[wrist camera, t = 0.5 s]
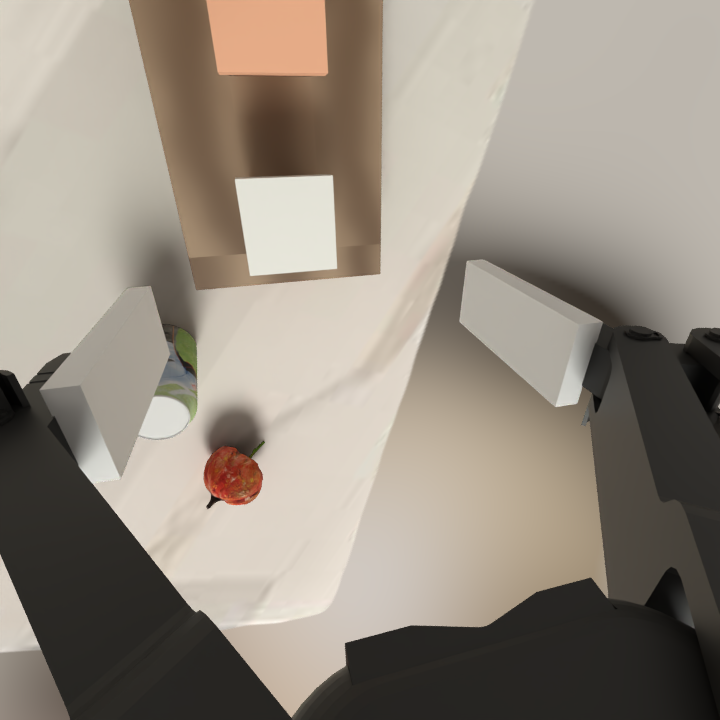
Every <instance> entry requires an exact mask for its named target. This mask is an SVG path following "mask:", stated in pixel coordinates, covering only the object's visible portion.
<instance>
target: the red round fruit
mask: <svg viewBox="0 0 720 720" xmlns="http://www.w3.org/2000/svg"><path fill="white" fill-rule="evenodd" d="M264 443H265V442H264V441H263V442H262V443H261V444H260V445H259V446H258V447H257V448H255V449H254V450H253V452H252V454H251V455H250V456H249V457H248V456H245V455H244V454H241V453H239V452H238V450H237V449H236V448H234V447H228V446H223V447H221V448H219V449H218V450H217V451H215V452H214V453H212V455H211V456H210V458H209V459H208V461H207V463H206V466H205V470H204V483H205V486H206V488H207V489H208V491H209V492H210V493H211V500H210V502H209V504H208V505H207V506H206V507H207V509H209V508H210V507H211V506H212V505H213V504H214V503H216V502H218V501H221V500H222V501H225V502H226V503H227V504H231V505H241V504H248V503H249V502H251V501H253V500H254V499H255V498H256V497H257V496H258V494H259V493H260V490H261V487H262V480H263V476H262V472H261V470H260V469H259V467H258V464H257V463H256V462H255V461H254V460H252V459H251V458H252V456H253V455H254V454H255V453H256V452H257V451H258V449H259V448H260V447H261V446H262V445H263V444H264Z"/></svg>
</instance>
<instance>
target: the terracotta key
mask: <svg viewBox="0 0 720 720" xmlns="http://www.w3.org/2000/svg"><path fill="white" fill-rule="evenodd" d="M206 2H207V8H208V14H209V21H210V27H211V33H212V40H213V46H214V52H215V58H216V65H217V71H218V73H219V75H234V76H326V75H327V74H328V60H327V39H326V17H325V0H206Z"/></svg>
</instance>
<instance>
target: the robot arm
mask: <svg viewBox="0 0 720 720" xmlns="http://www.w3.org/2000/svg"><path fill="white" fill-rule="evenodd" d="M459 322H460V323H461V324H463V325H464V326H465V327H466V328H467V329H468V330H469V331H470V332H471V333H473V334H474V335H475V336H476V337H477V338H478V339H479V340H480V341H482V342H483V343H484V344H485V345H486V346H487V347H488V348H489V349H491V350H492V351H493V352H494V353H495V354H496V355H497V356H499V357H500V358H501V359H502V360H503V361H504V362H505V363H506V364H508V365H509V366H510V367H511V368H512V369H513V370H514V371H515V372H516V373H518V374H519V375H520V376H521V377H522V378H523V379H524V380H525V381H527V382H528V383H529V384H530V385H531V386H532V387H533V388H534V389H536V390H537V391H538V392H539V393H540V394H541V395H543V397H545V398H546V399H547V400H548V401H549V402H550V403H551V404H553V405H554V406H555V407H559V406H565V405H571V404H577V402H578V399H579V396H580V392H581V390H582V386H583V387H585V388H586V389H587V390H589V391H590V392H592V395H591V398H590V401H589V404H588V407H587V410H586V412H585V415H584V419H583V421H582V424H581V425H584V426H585V425H586V423H587V422H588V421H590V427H591V435H592V436H591V437H592V446H593V455H594V464H595V474H596V482H597V492H598V502H599V511H600V520H601V530H602V538H603V548H604V557H605V565H606V566H605V567H606V576H607V585H608V598H606V596H605V595H604V594H603V592H602V591H601V590H600V589H599V588H598V586H597V585H596V583H595V582H594V581H593V579H592V578H588V579H585V580H581V581H577V582H573V583H569V584H565V585H562V586H558V587H554V588H550V589H547V590H543V591H539V592H536V593H535V594H533V595H532V596H530V597H529V598H528V599H526V600H525V601H523V602H522V603H520V604H519V605H517V606H516V607H514V608H513V609H511V610H510V611H509V612H507V613H506V614H504V615H503V616H502V617H500V618H498V619H497V620H496V621H494V622H493V623H491V624H490V625H487V626H485V627H447V626H408V627H404V628H400V629H397V630H393V631H389V632H385V633H382V634H378V635H374V636H370V637H367V638H363V639H359V640H355V641H351V642H348V643H345V651H346V666H345V667H344V668H342V669H341V670H339V671H337V672H336V673H334V674H333V675H332V676H330V677H329V678H328V679H327V680H326V681H324V682H323V683H322V684H321V685H320V686H319V687H317V688H316V689H315V690H314V692H313V693H312V694H311V695H310V696H309V697H308V698H307V699H306V700H305V701H304V702H303V703H302V704H301V706H300V707H299V709H298V710H297V711H296V713H295V714H294V715H293V717H292V718H291V717H290V716H289V715H288V713H287V712H286V711H285V710H284V709H283V707H282V706H281V705H280V704H279V702H278V701H277V700H276V699H275V697H274V696H273V695H272V694H271V692H270V691H269V690H268V689H267V688H266V686H265V685H264V684H263V683H262V682H261V681H260V679H259V678H258V677H257V675H256V674H255V673H254V672H253V670H252V669H251V668H250V667H249V666H248V664H247V663H246V662H245V661H244V660H243V658H242V657H241V656H240V654H239V653H238V652H237V651H236V650H235V648H234V647H233V646H232V645H231V643H230V642H229V641H228V640H227V639H226V637H225V636H224V635H223V634H222V632H221V631H220V630H219V629H218V627H217V626H216V625H215V624H214V623H213V622H212V621H211V620H210V618H209V617H208V616H207V615H206V614H204V613H203V612H202V611H200V610H199V611H198V612H195V611H194V610H192V609H191V607H190V606H189V605H188V604H187V603H186V601H185V600H184V599H183V598H182V596H181V595H180V594H179V593H178V591H177V590H176V589H175V588H174V586H173V585H172V584H171V582H170V581H169V580H168V579H167V577H166V576H165V575H164V574H163V572H162V571H161V570H160V569H159V567H158V566H157V565H156V564H155V562H154V561H153V560H152V558H151V557H150V556H149V555H148V553H147V552H146V551H145V550H144V548H143V547H142V546H141V545H140V543H139V542H138V541H137V540H136V538H135V537H134V536H133V534H132V533H131V532H130V531H129V529H128V528H127V527H126V526H125V524H124V523H123V522H122V521H121V519H120V518H119V517H118V515H117V514H116V513H115V512H114V510H113V509H112V508H111V507H110V505H109V504H108V503H107V502H106V500H105V499H104V498H103V497H102V495H101V494H100V493H99V491H98V490H97V489H96V488H95V486H94V485H93V484H94V483H100V482H106V481H112V480H118V479H121V477H122V475H123V472H124V470H125V467H126V465H127V462H128V459H129V457H130V454H131V452H132V449H133V447H134V444H135V442H136V439H137V437H138V434H139V432H140V429H141V427H142V424H143V421H144V419H145V416H146V414H147V411H148V409H149V406H150V404H151V401H152V399H153V396H154V394H155V391H156V389H157V386H158V383H159V381H160V378H161V376H162V373H163V371H164V368H165V366H166V363H167V361H168V358H169V356H170V352H169V348H168V345H167V341H166V338H165V334H164V331H163V327H162V324H161V320H160V317H159V313H158V310H157V306H156V303H155V299H154V296H153V292H152V289H151V286H144V287H132V288H127V289H126V290H125V291H124V292H123V293H122V295H121V296H120V297H119V298H118V299H117V300H116V302H115V303H114V304H113V305H112V306H111V307H110V309H109V310H108V311H107V312H106V313H105V314H104V316H103V317H102V318H101V319H100V320H99V321H98V322H97V324H96V325H95V326H94V327H93V328H92V329H91V331H90V332H89V333H88V334H87V335H86V336H85V338H84V339H83V340H82V341H81V342H80V343H79V345H78V346H77V347H76V348H75V349H74V350H73V352H72V353H64V354H61V355H60V356H58V357H56V358H55V359H53V360H51V361H50V362H48V363H46V364H45V366H44V367H43V368H42V369H41V370H40V371H39V372H38V373H37V375H36V376H34V377H33V378H32V380H31V381H30V382H29V384H27V385H26V386H25V387H24V388H23V389H22V388H21V386H20V384H19V382H18V381H17V379H16V377H15V375H14V373H12V372H10V371H6V370H0V555H1V557H2V559H3V562H4V564H5V566H6V569H7V571H8V573H9V576H10V578H11V580H12V583H13V585H14V587H15V590H16V592H17V594H18V597H19V599H20V601H21V603H22V606H23V608H24V610H25V613H26V615H27V617H28V620H29V622H30V624H31V627H32V629H33V631H34V634H35V636H36V638H37V641H38V643H39V645H40V648H41V650H42V652H43V655H44V657H45V659H46V662H47V664H48V666H49V669H50V671H51V673H52V676H53V678H54V680H55V683H56V685H57V687H58V690H59V692H60V694H61V697H62V699H63V701H64V704H65V706H66V708H67V711H68V714H69V716H70V720H720V409H719V408H718V405H719V404H720V328H712V329H711V328H696V329H692V331H691V332H690V335H689V337H688V339H687V341H686V344H674V343H669V342H668V340H667V339H666V338H665V337H664V336H663V335H662V334H661V333H659V332H656V331H653V330H651V329H648V328H646V327H642V326H618V327H616V328H614V329H613V328H611V327H609V326H607V325H606V324H604V323H603V322H602V321H600V320H598V319H597V318H595V317H593V316H591V315H589V314H587V313H585V312H583V311H581V310H579V309H577V308H575V307H574V306H572V305H570V304H568V303H566V302H564V301H562V300H560V299H558V298H556V297H554V296H553V295H551V294H549V293H547V292H545V291H543V290H541V289H539V288H537V287H535V286H533V285H531V284H530V283H528V282H526V281H524V280H522V279H520V278H518V277H516V276H514V275H512V274H510V273H508V272H507V271H504V270H503V269H501V268H499V267H497V266H495V265H493V264H491V263H489V262H487V261H486V260H471V261H467V264H466V273H465V280H464V289H463V297H462V305H461V313H460V321H459Z"/></svg>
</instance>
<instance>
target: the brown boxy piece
mask: <svg viewBox="0 0 720 720" xmlns="http://www.w3.org/2000/svg"><path fill="white" fill-rule="evenodd" d="M129 3H130V7H131V12H132V16H133V20H134V25H135V29H136V33H137V38H138V42H139V46H140V50H141V55H142V59H143V63H144V68H145V72H146V76H147V80H148V85H149V89H150V93H151V98H152V102H153V106H154V111H155V115H156V119H157V123H158V128H159V132H160V136H161V141H162V145H163V149H164V154H165V158H166V162H167V166H168V171H169V175H170V179H171V184H172V188H173V192H174V196H175V201H176V205H177V209H178V214H179V218H180V222H181V227H182V231H183V235H184V239H185V244H186V248H187V252H188V257H189V261H190V265H191V270H192V274H193V278H194V282H195V287H196V290H204V289H215V288H227V287H238V286H249V285H261V284H272V283H284V282H295V281H306V280H318V279H329V278H341V277H352V276H363V275H375V274H380V252H381V138H382V25H383V0H325V17H326V39H327V60H328V74H327V75H326V76H232V75H219V73H218V71H217V65H216V58H215V52H214V46H213V40H212V33H211V27H210V21H209V14H208V8H207V2H206V0H129ZM320 174H331V175H333V190H334V211H335V233H336V254H337V269H329V270H317V271H305V272H293V273H281V274H269V275H257V276H250V272H249V266H248V260H247V253H246V247H245V241H244V234H243V228H242V222H241V216H240V209H239V203H238V197H237V190H236V184H235V178H238V177H266V176H293V175H320Z"/></svg>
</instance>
